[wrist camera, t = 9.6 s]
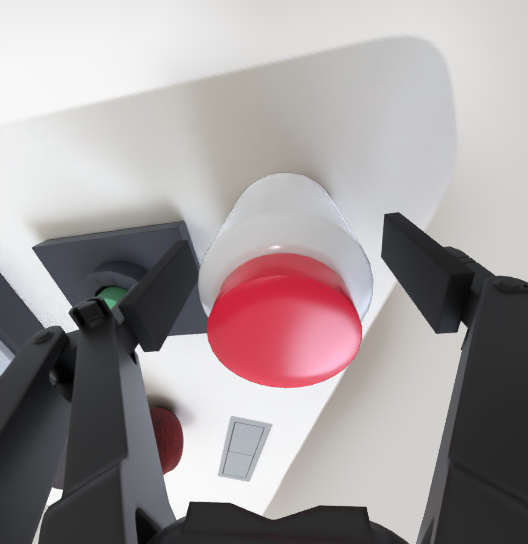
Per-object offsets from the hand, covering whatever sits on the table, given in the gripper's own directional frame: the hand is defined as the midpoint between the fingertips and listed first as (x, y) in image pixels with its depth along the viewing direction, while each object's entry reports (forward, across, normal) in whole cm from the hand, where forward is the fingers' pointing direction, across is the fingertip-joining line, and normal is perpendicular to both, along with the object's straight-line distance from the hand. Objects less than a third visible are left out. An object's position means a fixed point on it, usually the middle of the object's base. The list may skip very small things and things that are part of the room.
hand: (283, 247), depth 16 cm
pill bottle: (+3, 0, 0) cm, 3 cm away
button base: (+3, -13, -3) cm, 14 cm away
